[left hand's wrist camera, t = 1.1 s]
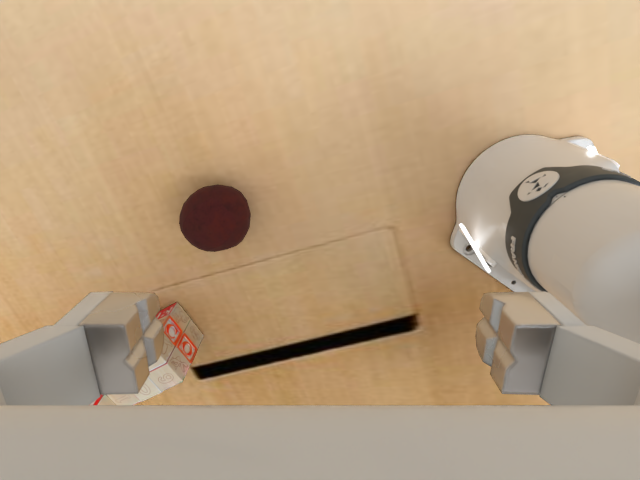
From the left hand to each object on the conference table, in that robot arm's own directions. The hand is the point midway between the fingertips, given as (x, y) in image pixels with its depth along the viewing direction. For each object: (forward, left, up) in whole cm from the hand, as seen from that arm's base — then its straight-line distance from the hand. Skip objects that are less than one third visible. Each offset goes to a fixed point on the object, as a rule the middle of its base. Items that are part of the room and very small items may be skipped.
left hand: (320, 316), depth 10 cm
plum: (+1, +14, -37) cm, 40 cm away
